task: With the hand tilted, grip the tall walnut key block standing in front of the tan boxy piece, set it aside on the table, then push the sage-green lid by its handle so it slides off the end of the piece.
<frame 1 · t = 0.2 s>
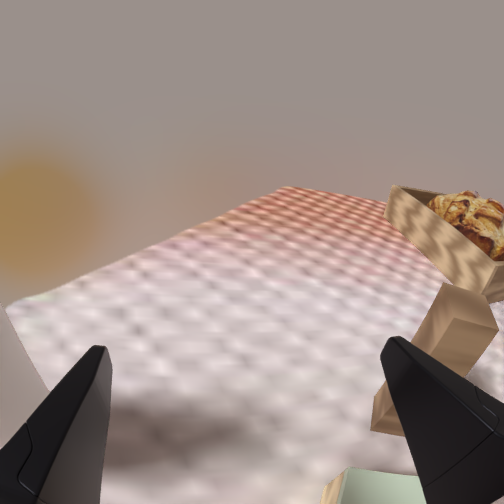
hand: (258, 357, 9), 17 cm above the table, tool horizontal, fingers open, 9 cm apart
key: (390, 416, 24), on the table
milk bottle: (28, 426, 18), on the table
bread: (466, 256, 57), on the table
bread crate: (466, 254, 57), on the table
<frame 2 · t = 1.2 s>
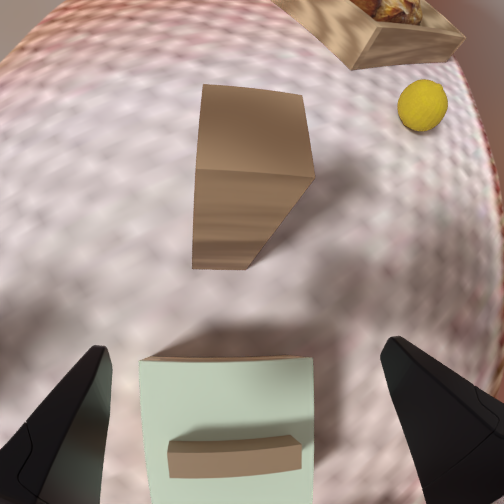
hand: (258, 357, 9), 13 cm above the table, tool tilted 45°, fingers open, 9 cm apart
lemon: (403, 125, 32), on the table
tan boxy piece: (222, 429, 20), on the table
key: (218, 243, 24), on the table
lid: (233, 455, 14), point 6 cm above the table, slide at 0.0 cm
bread: (347, 11, 40), on the table
bread crate: (346, 7, 40), on the table
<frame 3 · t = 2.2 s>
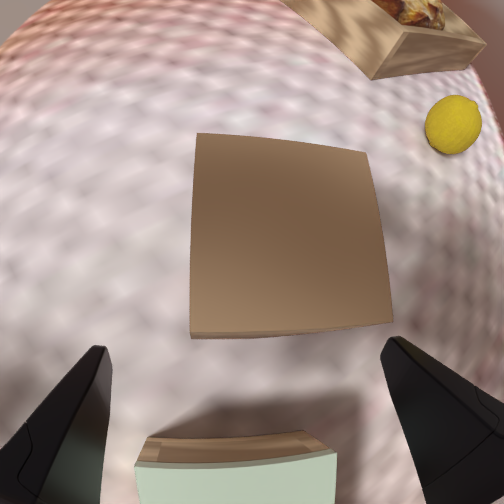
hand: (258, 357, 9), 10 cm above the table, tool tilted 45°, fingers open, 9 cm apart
lemon: (430, 145, 28), on the table
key: (223, 307, 19), on the table
bread: (362, 14, 36), on the table
bread crate: (359, 8, 36), on the table
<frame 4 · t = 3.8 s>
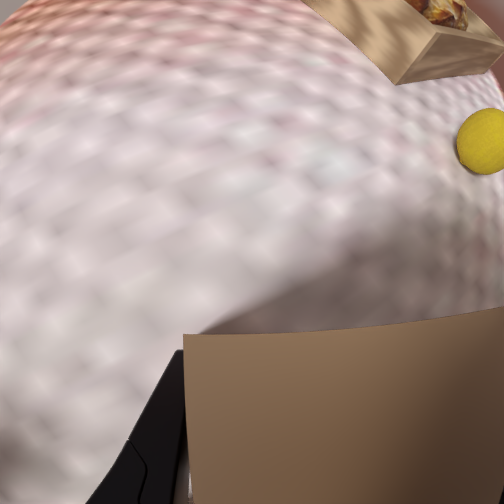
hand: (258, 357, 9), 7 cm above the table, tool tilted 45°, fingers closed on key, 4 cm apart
lemon: (459, 162, 24), on the table
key: (230, 376, 15), on the table, touching gripper
bread: (376, 10, 32), on the table
bread crate: (375, 3, 32), on the table
when the fingers open (7 cm above the table, at t = 7.4 s): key stays where it is, on the table.
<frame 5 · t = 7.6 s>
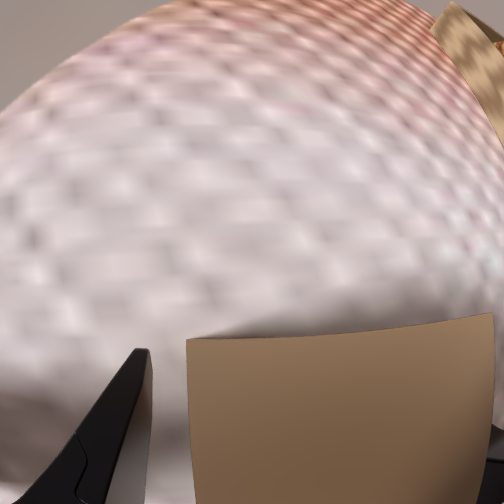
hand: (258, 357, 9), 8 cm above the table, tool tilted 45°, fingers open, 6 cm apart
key: (229, 375, 16), on the table
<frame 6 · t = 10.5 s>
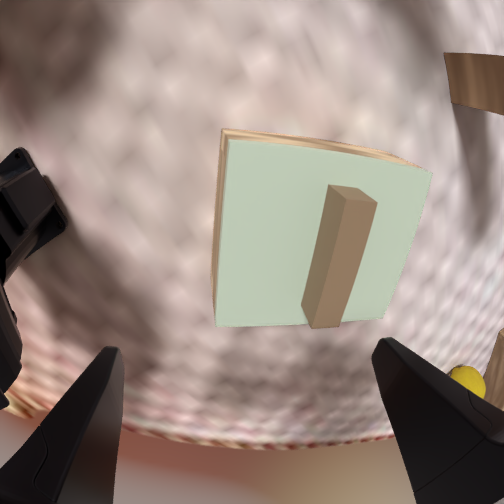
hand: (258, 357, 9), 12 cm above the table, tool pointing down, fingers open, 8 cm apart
lemon: (453, 367, 37), on the table
tan boxy piece: (299, 213, 20), on the table
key: (464, 77, 16), on the table
lid: (332, 256, 15), point 6 cm above the table, slide at 0.0 cm
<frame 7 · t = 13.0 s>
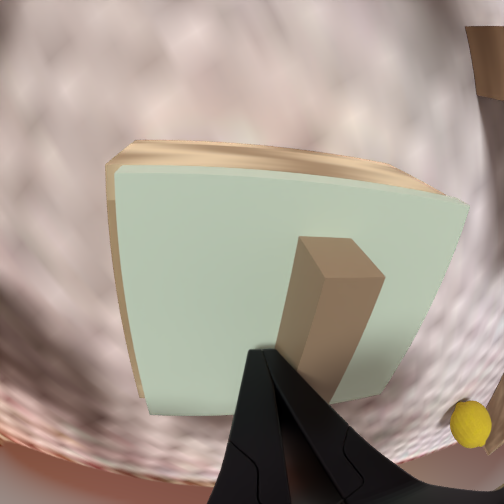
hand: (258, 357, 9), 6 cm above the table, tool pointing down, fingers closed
lemon: (456, 401, 31), on the table
tan boxy piece: (259, 255, 14), on the table
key: (491, 62, 11), on the table
lid: (306, 344, 9), point 6 cm above the table, slide at 0.5 cm, touching gripper
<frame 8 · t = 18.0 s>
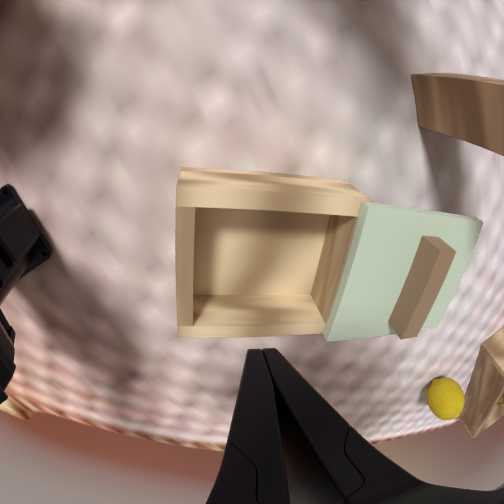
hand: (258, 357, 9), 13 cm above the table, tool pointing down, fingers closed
lemon: (433, 378, 38), on the table
tan boxy piece: (258, 242, 22), on the table
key: (434, 98, 18), on the table
lid: (417, 286, 19), point 6 cm above the table, slide at 10.1 cm
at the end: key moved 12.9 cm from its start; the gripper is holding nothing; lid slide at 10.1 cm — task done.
